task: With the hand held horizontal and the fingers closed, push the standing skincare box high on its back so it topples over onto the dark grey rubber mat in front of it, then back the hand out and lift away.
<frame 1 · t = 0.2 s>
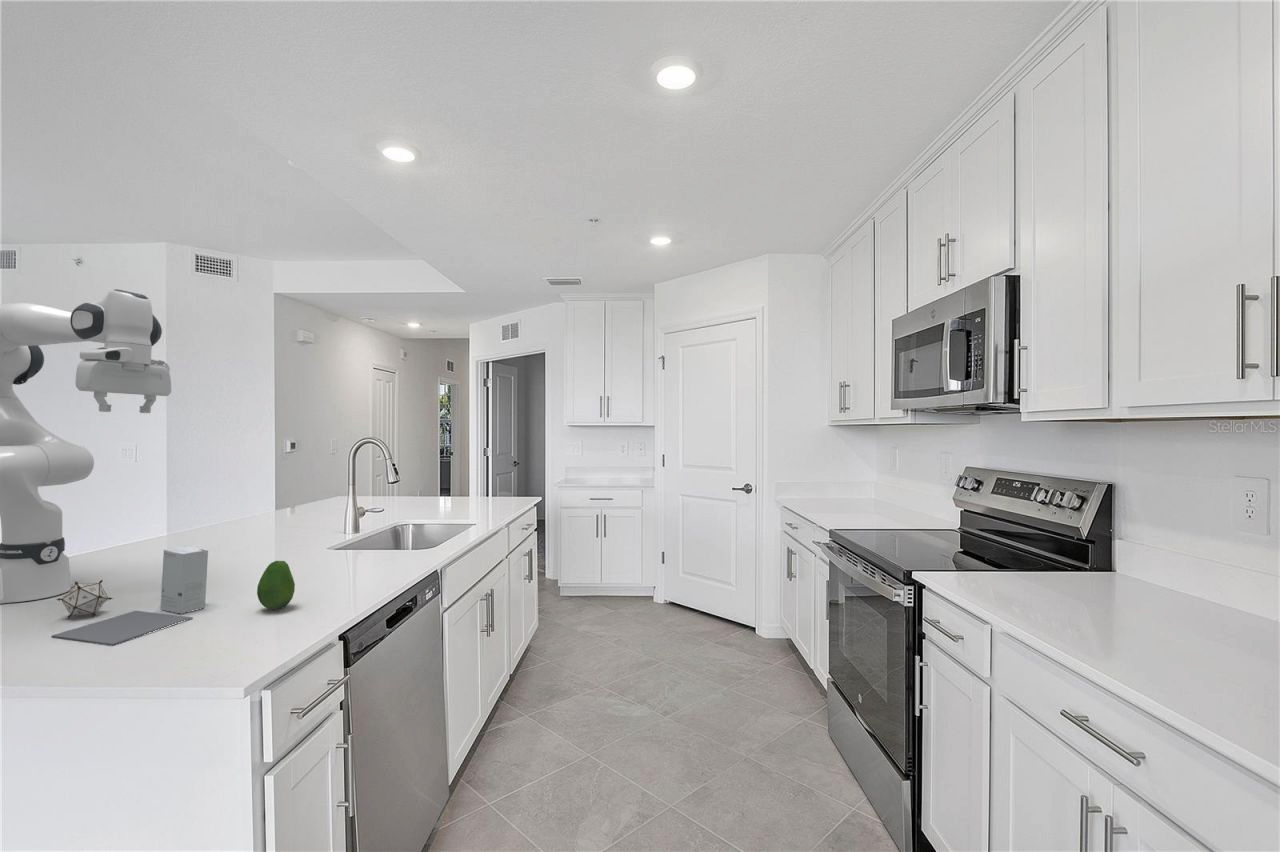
hand: (125, 412, 147), 48 cm above the worktop, tool pointing down, fingers open, 8 cm apart
fruit: (275, 610, 147), on the worktop
skincare box: (184, 610, 146), on the worktop
game die: (85, 616, 140), on the worktop
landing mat: (125, 627, 133), on the worktop
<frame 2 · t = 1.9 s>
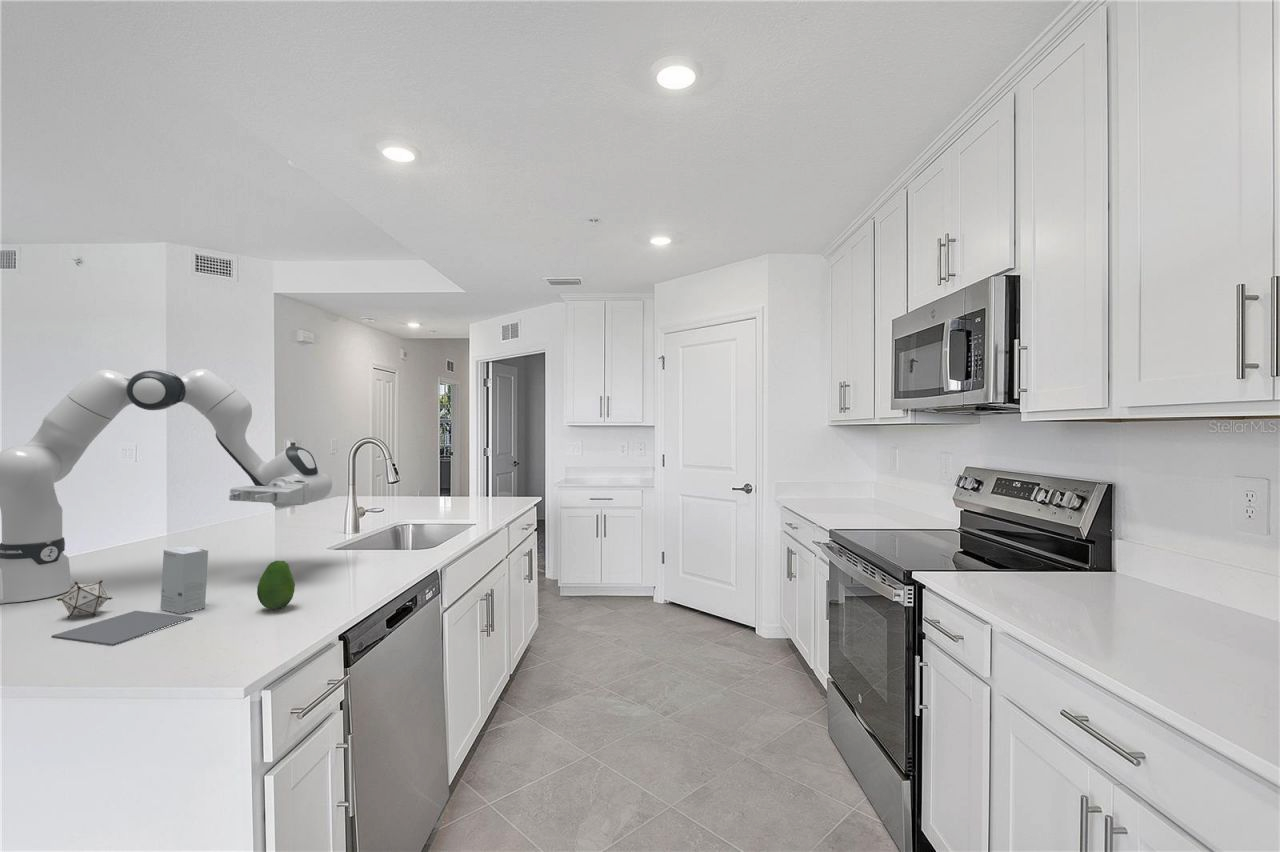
hand: (242, 498, 161), 25 cm above the worktop, tool horizontal, fingers open, 6 cm apart
nothing on the worktop moved.
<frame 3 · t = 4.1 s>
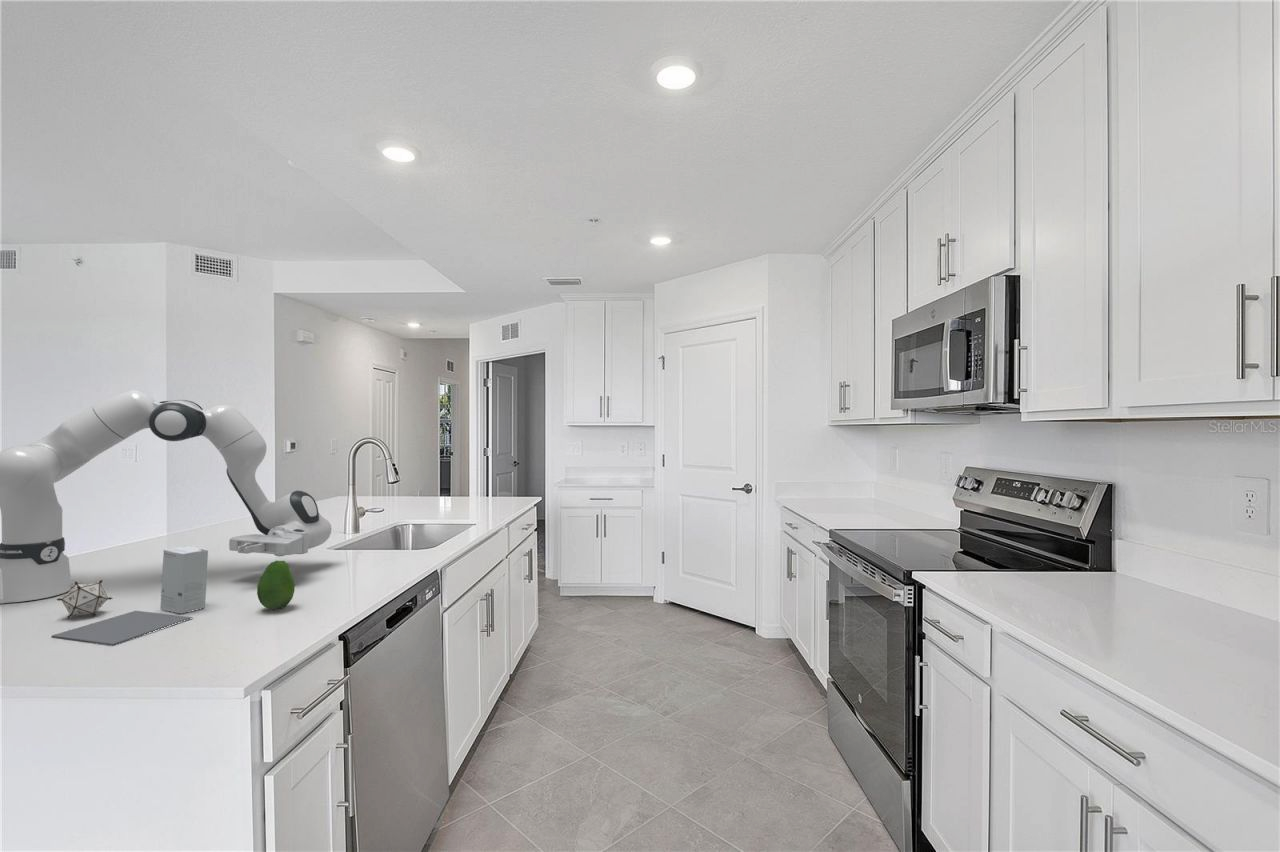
hand: (241, 550, 161), 11 cm above the worktop, tool horizontal, fingers closed
nothing on the worktop moved.
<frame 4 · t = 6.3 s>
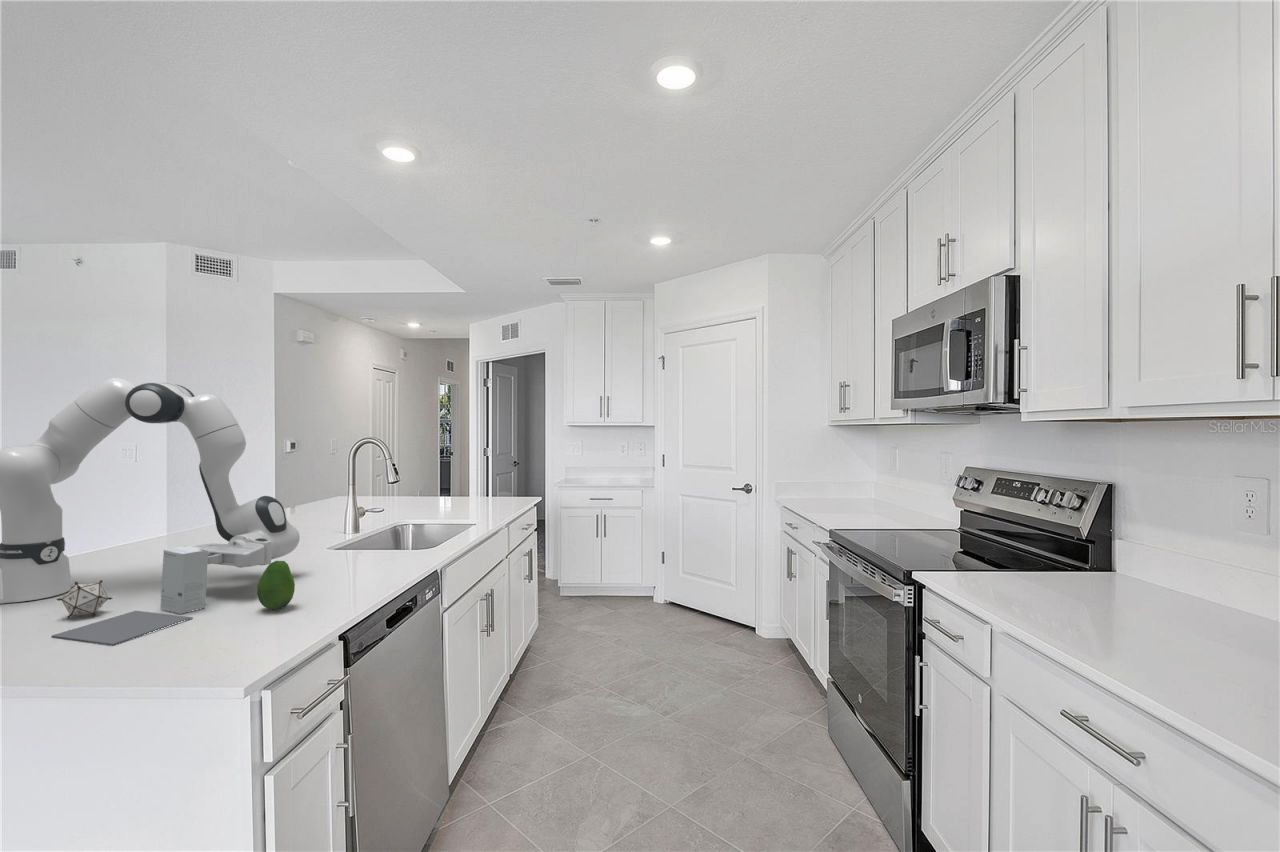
hand: (196, 561, 149), 11 cm above the worktop, tool horizontal, fingers closed
skincare box: (184, 610, 146), on the worktop, touching gripper
everything else where it was.
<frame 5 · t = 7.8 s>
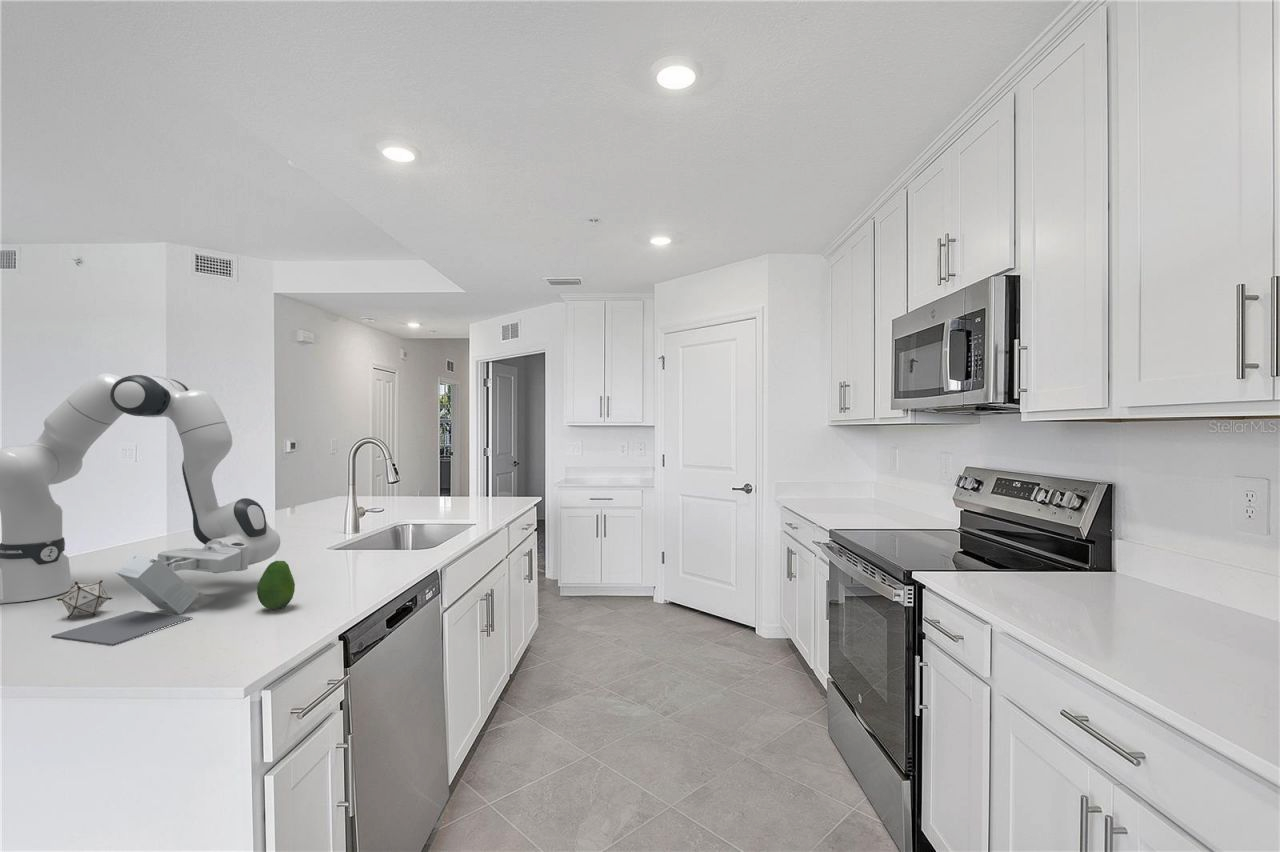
hand: (167, 567, 142), 11 cm above the worktop, tool horizontal, fingers closed
skincare box: (181, 602, 145), point 2 cm above the worktop, touching gripper
everything else where it was.
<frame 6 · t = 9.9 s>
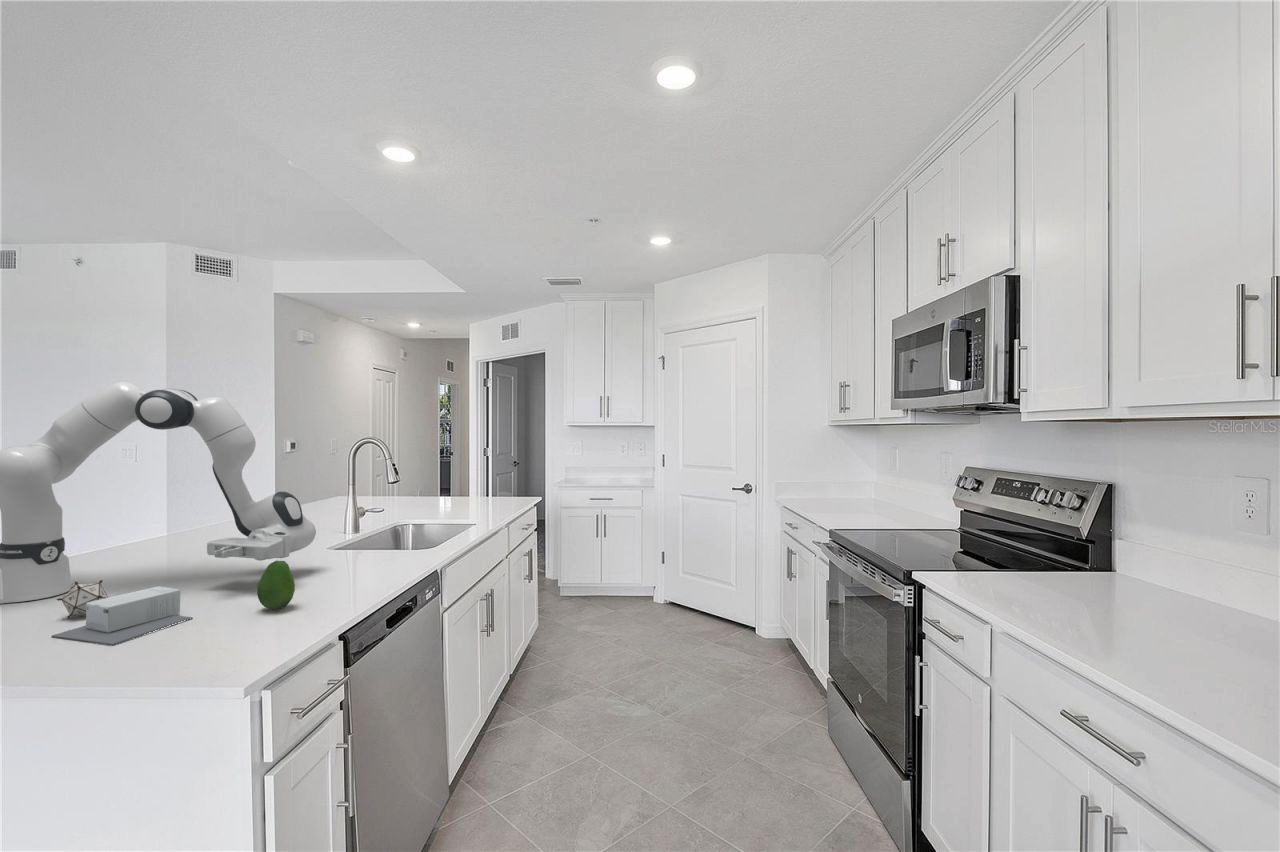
hand: (218, 554, 154), 11 cm above the worktop, tool horizontal, fingers closed
skincare box: (171, 598, 143), point 3 cm above the worktop, touching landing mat
everything else where it was.
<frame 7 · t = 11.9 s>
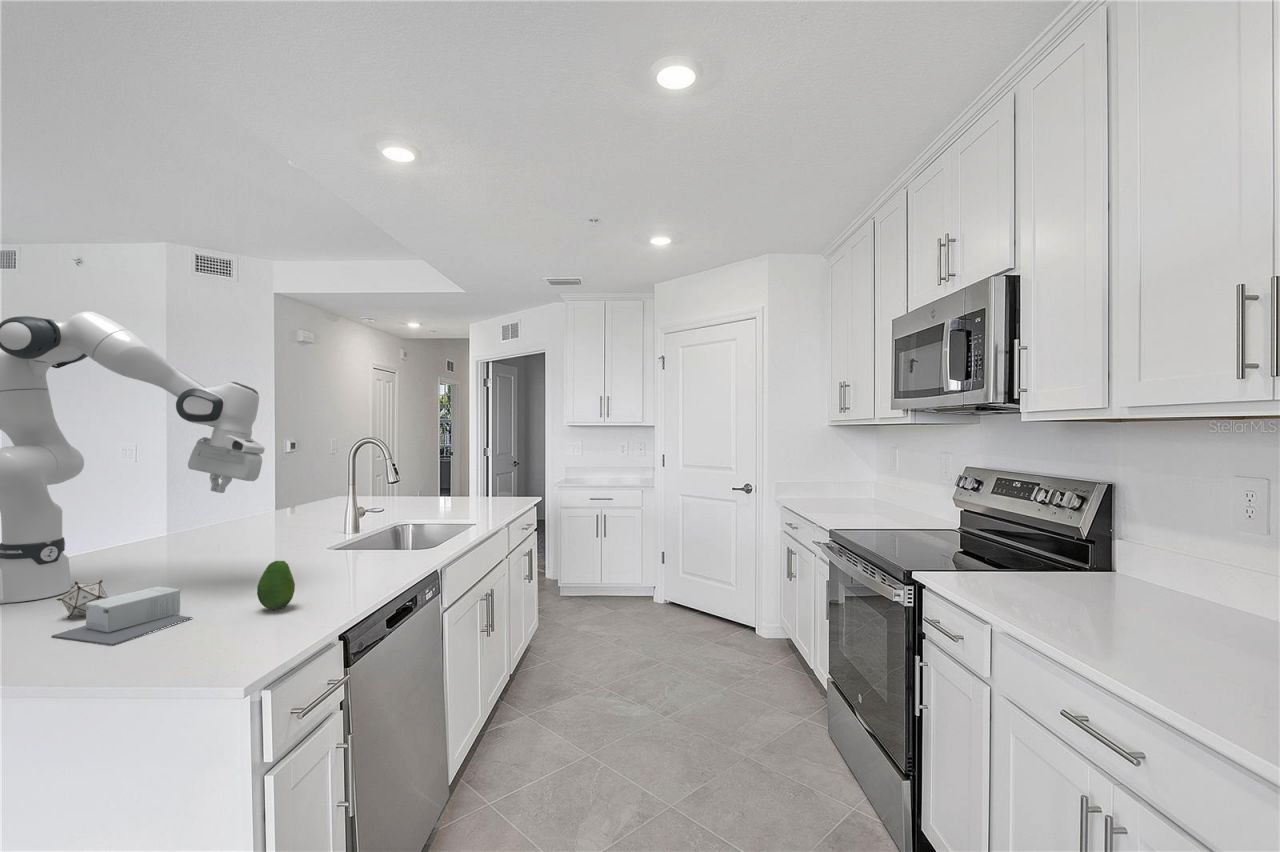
hand: (217, 492, 161), 27 cm above the worktop, tool pointing down, fingers closed
nothing on the worktop moved.
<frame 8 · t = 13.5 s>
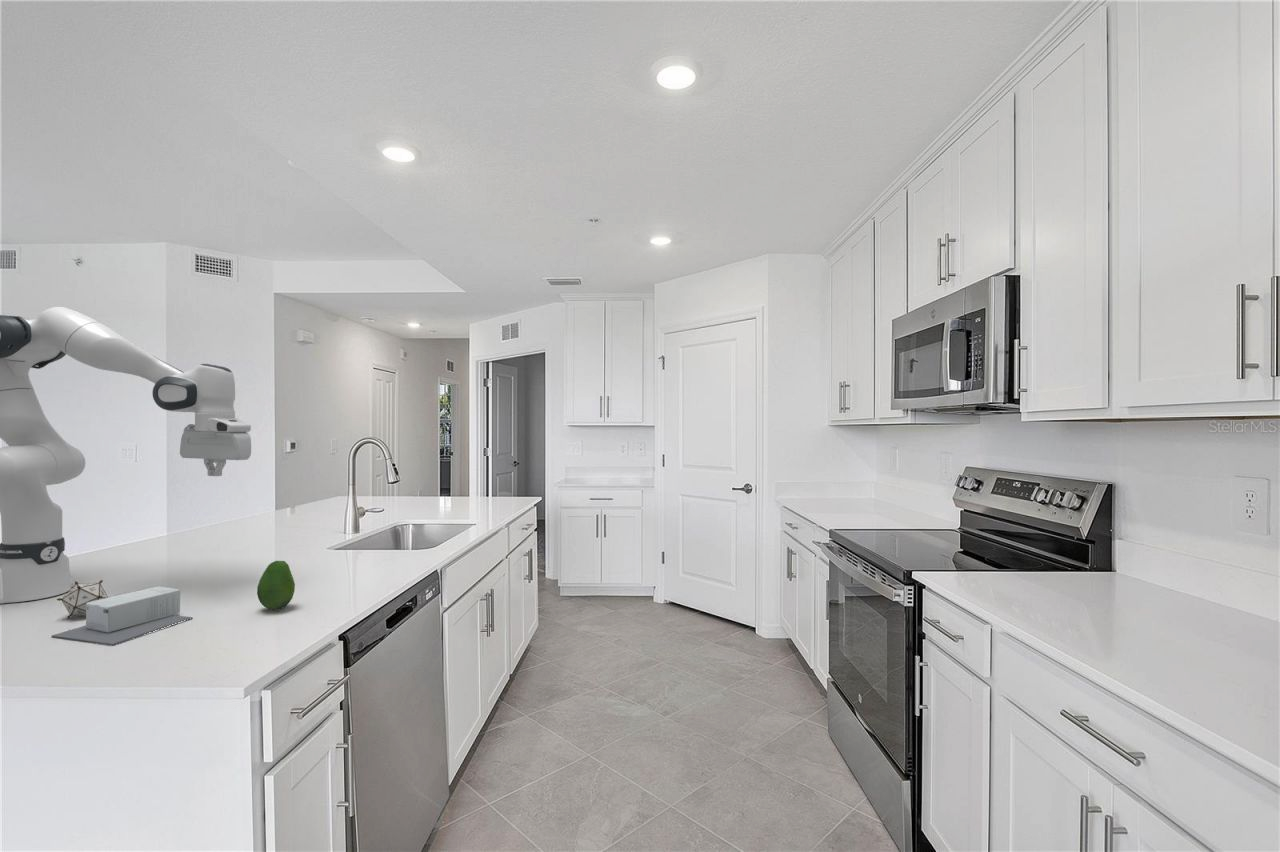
hand: (214, 476, 161), 31 cm above the worktop, tool pointing down, fingers closed
nothing on the worktop moved.
at the end: skincare box tilted 91°; skincare box touching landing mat; skincare box inside the target area (7.2 cm from its centre), point 3.4 cm above the worktop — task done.
